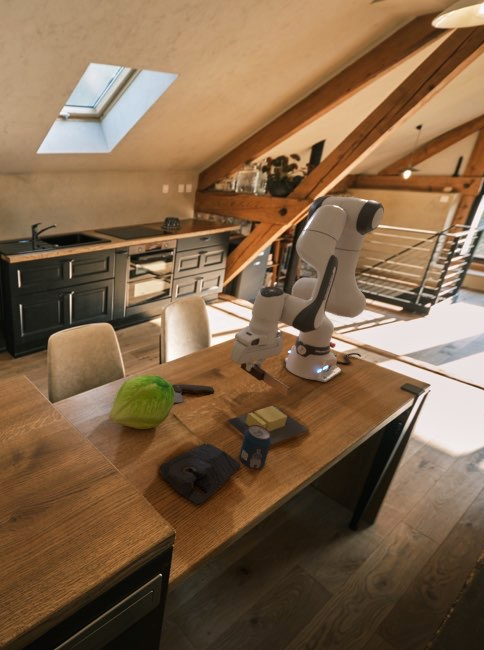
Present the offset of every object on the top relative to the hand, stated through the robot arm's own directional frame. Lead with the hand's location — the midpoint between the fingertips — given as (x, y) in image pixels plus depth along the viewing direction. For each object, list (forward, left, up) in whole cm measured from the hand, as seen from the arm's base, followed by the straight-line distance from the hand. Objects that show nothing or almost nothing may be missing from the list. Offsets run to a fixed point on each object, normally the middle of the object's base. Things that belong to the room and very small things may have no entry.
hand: (253, 369), depth 134 cm
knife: (0, +5, -2) cm, 5 cm away
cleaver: (+22, -13, -14) cm, 29 cm away
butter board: (+5, +14, -14) cm, 20 cm away
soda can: (+22, +23, -14) cm, 35 cm away
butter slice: (+10, +13, -13) cm, 21 cm away
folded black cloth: (+38, +20, -14) cm, 45 cm away
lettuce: (+43, -5, -14) cm, 45 cm away
